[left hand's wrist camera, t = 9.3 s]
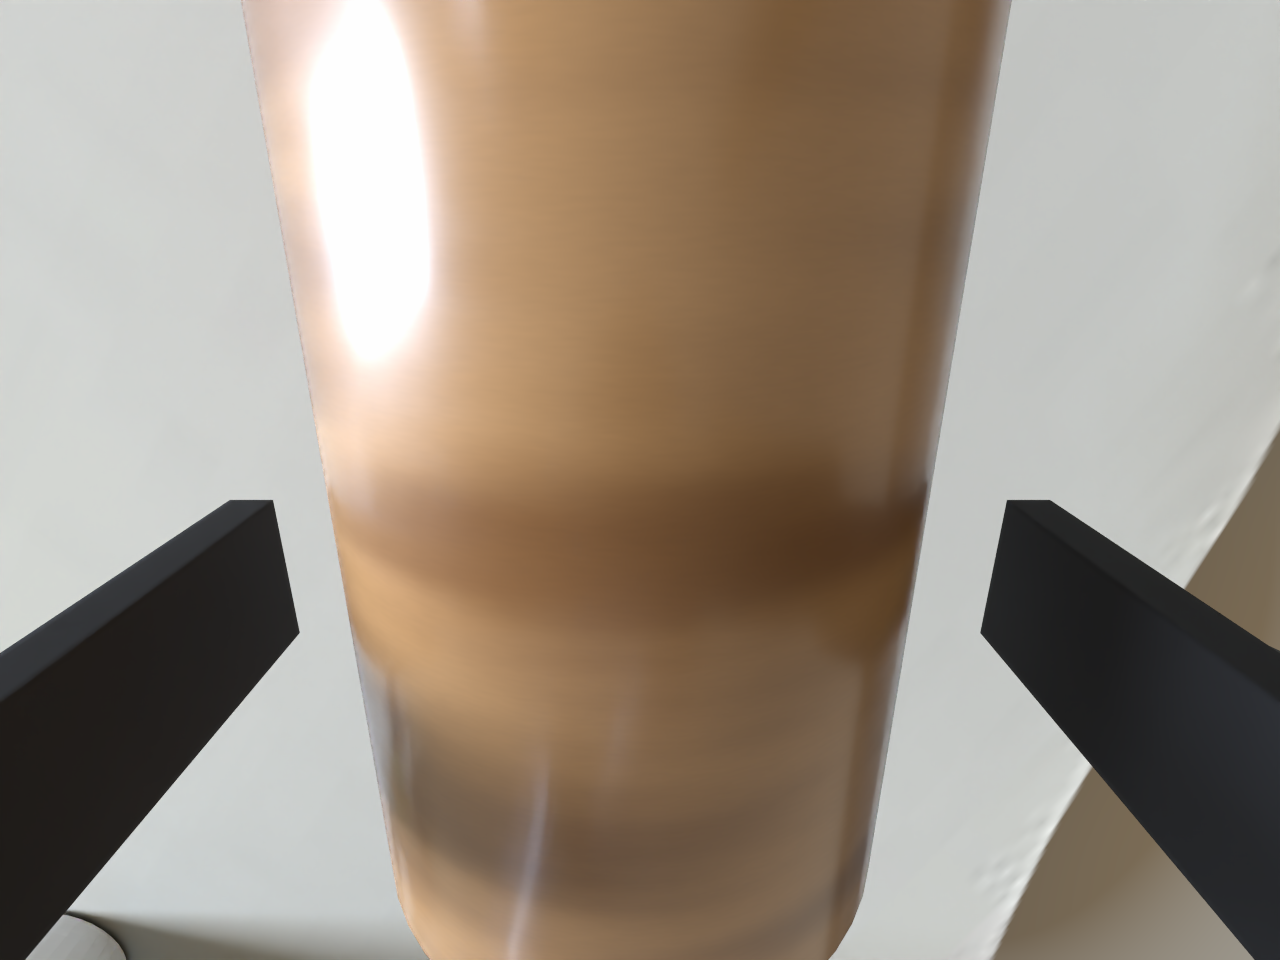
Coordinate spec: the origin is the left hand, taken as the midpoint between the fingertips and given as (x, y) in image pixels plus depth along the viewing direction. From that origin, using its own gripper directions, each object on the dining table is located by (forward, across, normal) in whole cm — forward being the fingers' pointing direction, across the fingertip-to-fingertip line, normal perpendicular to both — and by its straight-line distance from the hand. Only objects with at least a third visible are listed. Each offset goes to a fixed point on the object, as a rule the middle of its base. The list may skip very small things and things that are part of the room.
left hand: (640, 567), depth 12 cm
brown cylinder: (+2, 0, -10) cm, 11 cm away
